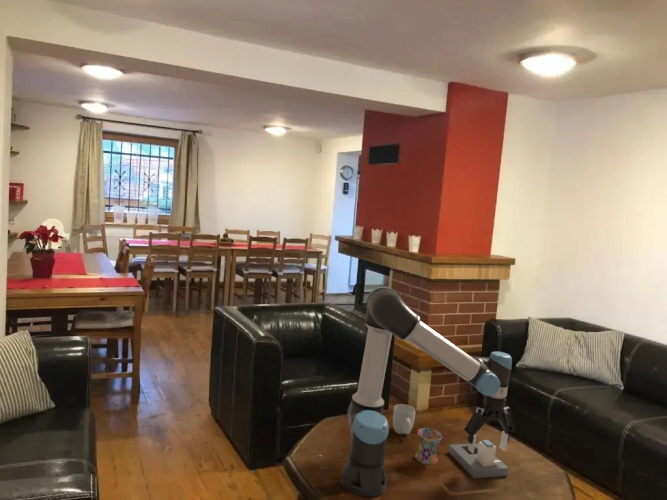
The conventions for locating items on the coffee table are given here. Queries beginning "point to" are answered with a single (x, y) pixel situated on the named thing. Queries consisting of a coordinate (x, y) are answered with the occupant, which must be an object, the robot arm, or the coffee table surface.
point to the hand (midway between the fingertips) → (486, 450)
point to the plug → (486, 453)
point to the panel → (472, 465)
